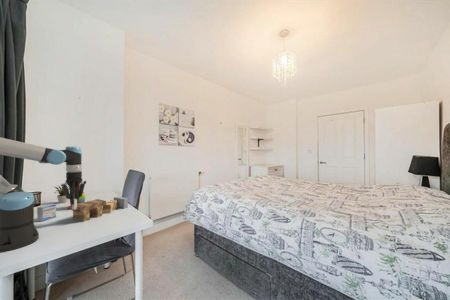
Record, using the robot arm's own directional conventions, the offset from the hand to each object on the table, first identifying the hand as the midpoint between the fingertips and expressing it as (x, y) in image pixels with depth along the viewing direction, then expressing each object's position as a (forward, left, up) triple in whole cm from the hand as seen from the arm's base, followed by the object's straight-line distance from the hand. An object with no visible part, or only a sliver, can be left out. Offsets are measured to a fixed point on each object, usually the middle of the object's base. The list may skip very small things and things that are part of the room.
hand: (74, 209), depth 116 cm
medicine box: (-5, +20, -8) cm, 22 cm away
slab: (+9, 0, -1) cm, 9 cm away
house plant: (+18, +53, -8) cm, 57 cm away
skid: (+23, 0, -8) cm, 24 cm away
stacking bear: (+17, +29, -8) cm, 34 cm away
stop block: (+31, 0, -7) cm, 32 cm away
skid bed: (+8, 0, -7) cm, 11 cm away
